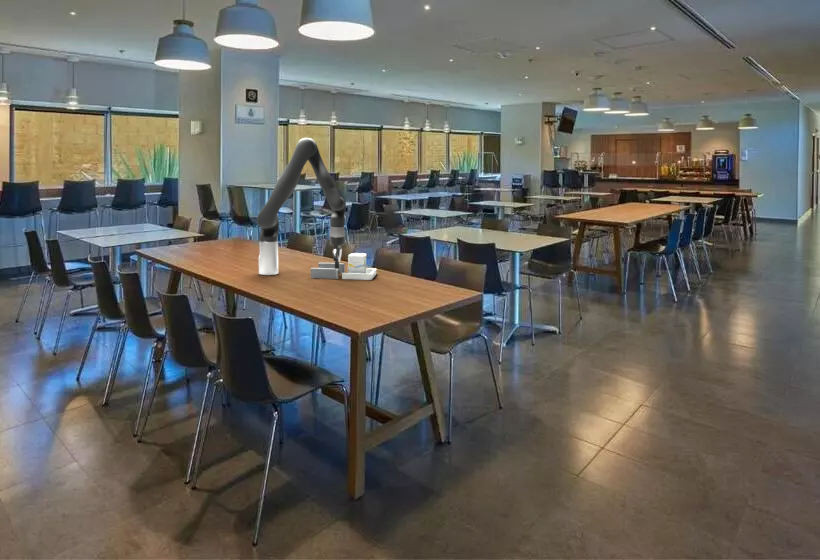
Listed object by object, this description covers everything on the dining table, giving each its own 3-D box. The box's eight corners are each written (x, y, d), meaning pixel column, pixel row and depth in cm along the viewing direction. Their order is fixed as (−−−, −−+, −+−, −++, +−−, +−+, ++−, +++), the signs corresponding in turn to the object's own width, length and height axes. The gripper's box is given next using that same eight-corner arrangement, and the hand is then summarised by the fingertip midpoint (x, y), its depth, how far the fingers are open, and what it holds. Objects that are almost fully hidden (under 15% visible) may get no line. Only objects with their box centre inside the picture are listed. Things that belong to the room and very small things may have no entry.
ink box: (364, 278, 309) (364, 255, 307) (347, 277, 310) (347, 255, 307) (366, 275, 317) (366, 253, 315) (350, 274, 318) (350, 252, 316)
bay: (310, 277, 307) (310, 268, 306) (319, 271, 324) (319, 262, 323) (337, 279, 305) (337, 269, 304) (344, 272, 323) (344, 263, 322)
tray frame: (342, 278, 306) (342, 273, 305) (348, 273, 322) (348, 267, 321) (371, 280, 305) (371, 274, 304) (376, 274, 320) (376, 268, 320)
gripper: (333, 233, 317) (332, 266, 320) (327, 236, 304) (327, 270, 307) (347, 234, 316) (346, 266, 320) (341, 237, 303) (341, 271, 307)
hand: (337, 268), depth 313 cm, fingers closed
